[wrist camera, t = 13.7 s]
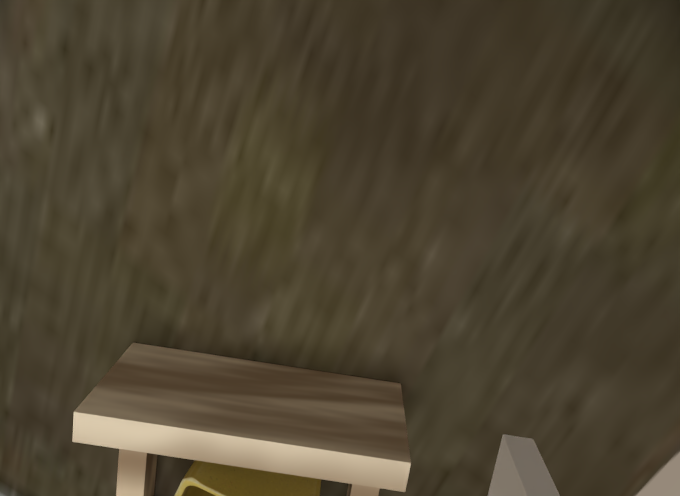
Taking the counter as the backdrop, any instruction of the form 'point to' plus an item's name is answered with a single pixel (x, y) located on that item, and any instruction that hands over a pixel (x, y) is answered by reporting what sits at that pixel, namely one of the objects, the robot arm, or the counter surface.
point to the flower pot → (243, 482)
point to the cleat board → (245, 419)
